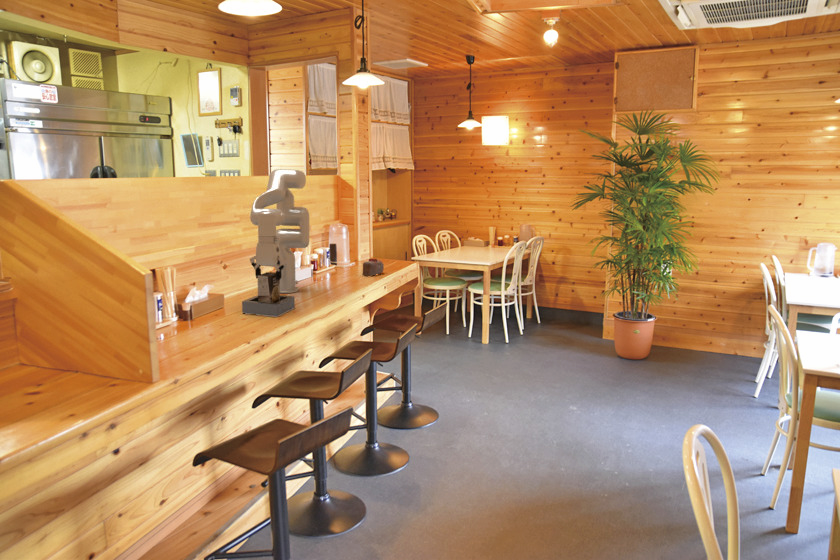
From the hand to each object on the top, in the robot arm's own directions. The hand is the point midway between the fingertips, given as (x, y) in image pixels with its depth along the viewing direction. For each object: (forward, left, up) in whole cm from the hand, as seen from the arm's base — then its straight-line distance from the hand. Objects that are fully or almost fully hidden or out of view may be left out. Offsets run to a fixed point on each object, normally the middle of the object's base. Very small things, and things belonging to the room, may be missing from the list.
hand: (268, 278), depth 255 cm
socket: (0, 0, -14) cm, 14 cm away
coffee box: (0, 0, -14) cm, 14 cm away
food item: (-96, +14, -15) cm, 98 cm away
